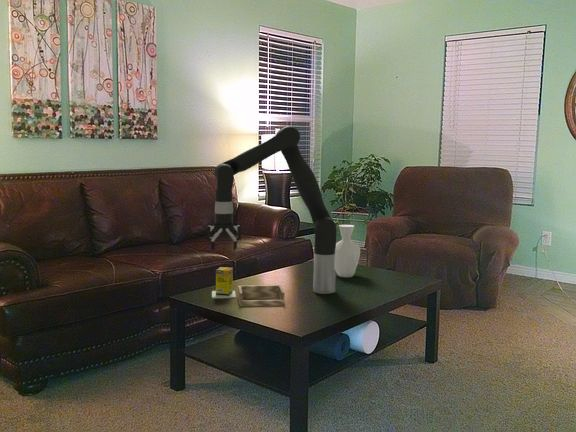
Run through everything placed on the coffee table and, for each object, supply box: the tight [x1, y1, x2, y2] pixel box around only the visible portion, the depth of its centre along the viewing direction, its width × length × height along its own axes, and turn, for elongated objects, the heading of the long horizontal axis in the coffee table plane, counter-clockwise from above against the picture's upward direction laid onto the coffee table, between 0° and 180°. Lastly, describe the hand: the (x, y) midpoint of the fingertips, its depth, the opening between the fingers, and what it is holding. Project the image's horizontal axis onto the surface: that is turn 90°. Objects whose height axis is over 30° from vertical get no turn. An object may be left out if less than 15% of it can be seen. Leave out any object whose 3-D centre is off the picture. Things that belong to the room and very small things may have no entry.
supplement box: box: [215, 266, 234, 296], centre depth 242 cm, size 6×6×11 cm
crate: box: [237, 284, 286, 307], centre depth 234 cm, size 18×13×5 cm
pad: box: [211, 290, 237, 300], centre depth 243 cm, size 10×10×1 cm
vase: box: [335, 224, 361, 278], centre depth 282 cm, size 14×14×25 cm
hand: (223, 250), depth 240 cm, fingers open, 8 cm apart
